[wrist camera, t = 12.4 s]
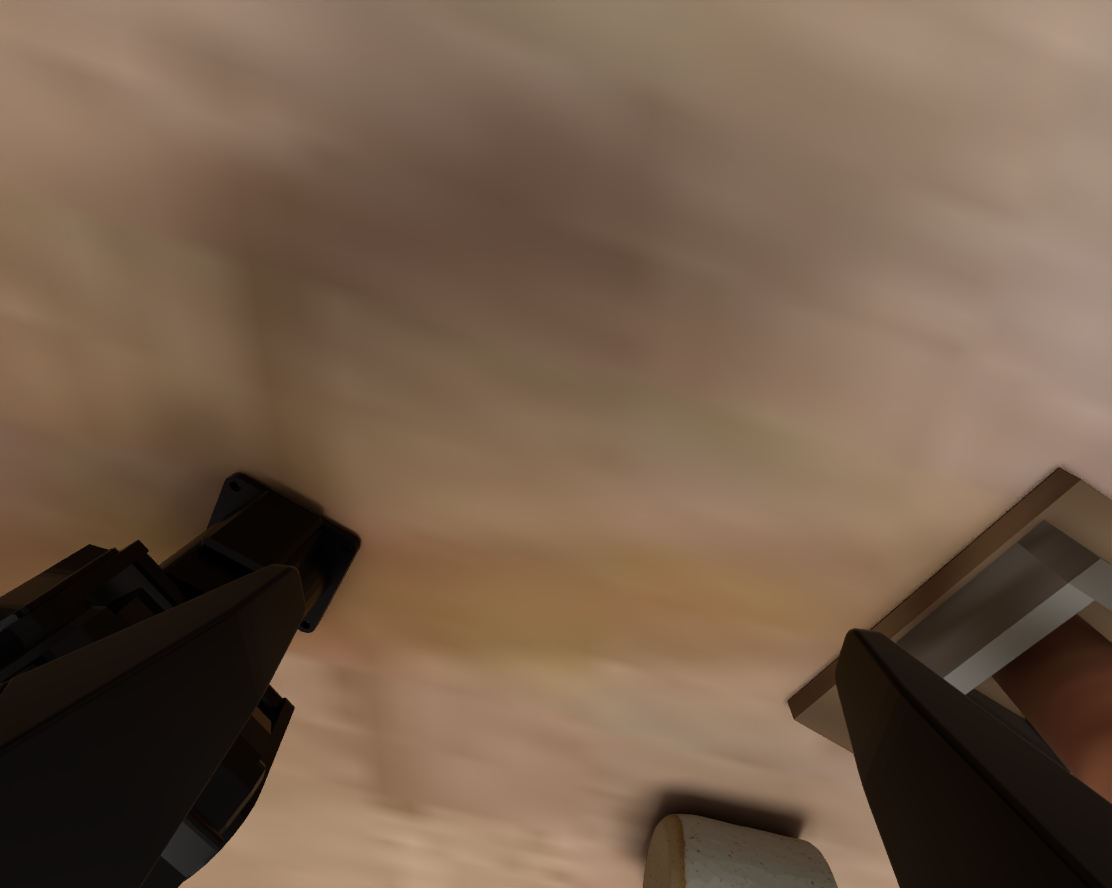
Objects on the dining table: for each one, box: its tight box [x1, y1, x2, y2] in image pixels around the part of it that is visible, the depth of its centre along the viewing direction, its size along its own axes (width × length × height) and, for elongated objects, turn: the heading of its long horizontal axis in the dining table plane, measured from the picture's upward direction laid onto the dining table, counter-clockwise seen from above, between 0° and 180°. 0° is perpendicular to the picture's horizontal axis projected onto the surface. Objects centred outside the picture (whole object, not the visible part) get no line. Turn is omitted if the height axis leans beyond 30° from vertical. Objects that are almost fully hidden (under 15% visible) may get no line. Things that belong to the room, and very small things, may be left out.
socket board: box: [788, 468, 1112, 774], centre depth 22 cm, size 15×14×4 cm
